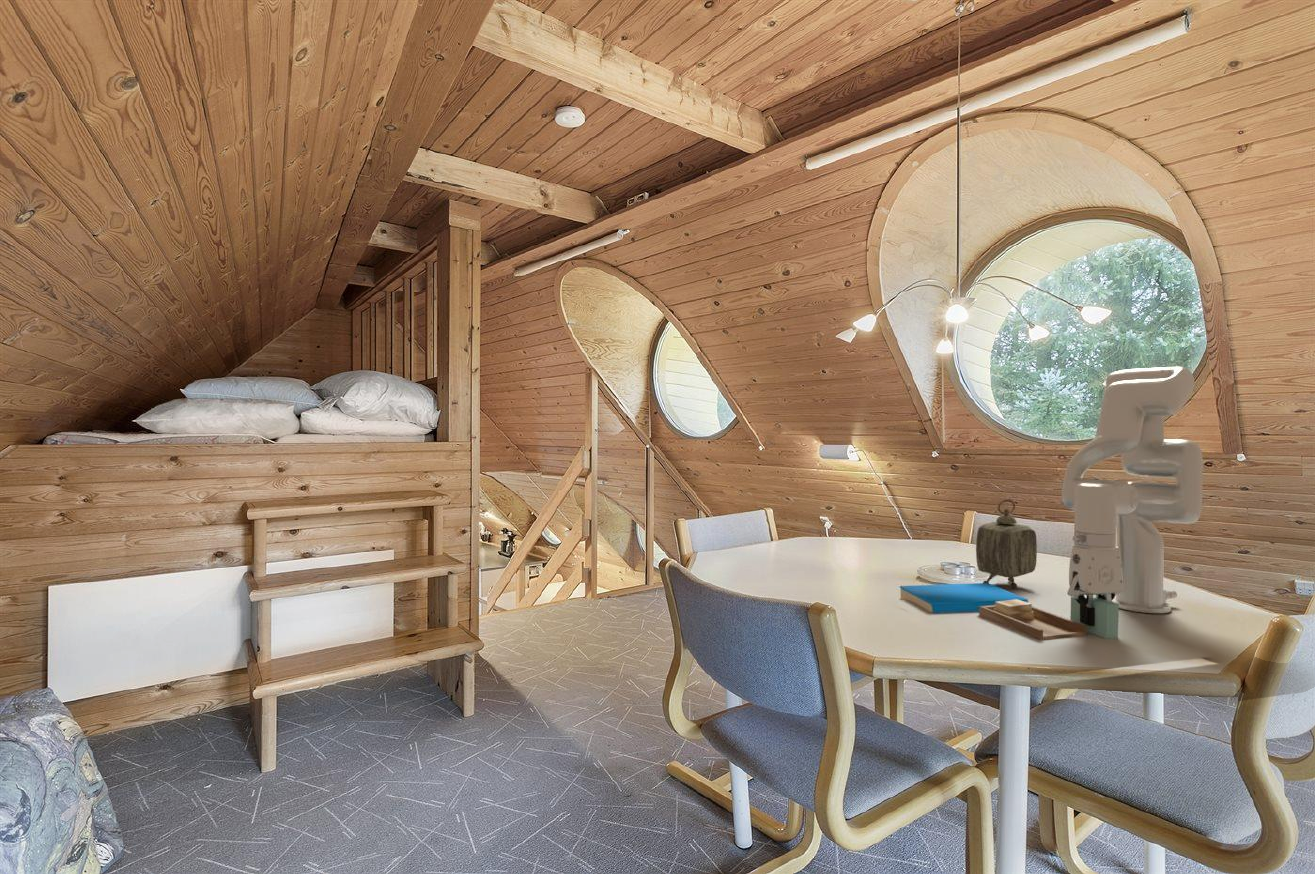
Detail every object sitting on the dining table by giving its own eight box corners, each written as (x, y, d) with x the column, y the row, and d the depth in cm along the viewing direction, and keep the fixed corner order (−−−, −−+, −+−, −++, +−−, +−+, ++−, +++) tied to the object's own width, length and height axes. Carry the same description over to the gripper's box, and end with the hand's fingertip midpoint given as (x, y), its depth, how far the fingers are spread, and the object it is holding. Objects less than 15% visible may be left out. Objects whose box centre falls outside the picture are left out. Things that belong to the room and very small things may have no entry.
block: (1117, 638, 136) (1118, 603, 136) (1106, 639, 136) (1107, 605, 135) (1081, 625, 145) (1082, 592, 145) (1070, 626, 144) (1071, 593, 144)
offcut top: (1016, 606, 153) (1016, 599, 153) (1031, 611, 149) (1031, 603, 149) (995, 609, 151) (995, 601, 151) (1009, 614, 147) (1009, 606, 147)
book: (899, 586, 171) (986, 581, 174) (899, 602, 171) (987, 597, 174) (933, 603, 154) (1030, 598, 157) (933, 621, 154) (1030, 615, 157)
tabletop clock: (1009, 580, 190) (1009, 496, 189) (1039, 587, 182) (1039, 499, 181) (975, 586, 184) (976, 499, 183) (1004, 593, 175) (1005, 502, 175)
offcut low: (1018, 613, 153) (1019, 606, 153) (1033, 619, 149) (1033, 611, 149) (993, 616, 152) (993, 608, 152) (1008, 621, 147) (1008, 614, 147)
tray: (1021, 615, 155) (1022, 602, 155) (1086, 640, 138) (1086, 625, 138) (979, 619, 153) (979, 606, 153) (1039, 645, 135) (1039, 630, 135)
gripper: (1078, 545, 134) (1078, 632, 135) (1141, 541, 138) (1140, 625, 138) (1049, 538, 141) (1048, 621, 142) (1109, 535, 145) (1109, 615, 146)
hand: (1094, 622), depth 140 cm, fingers closed on block, 3 cm apart
